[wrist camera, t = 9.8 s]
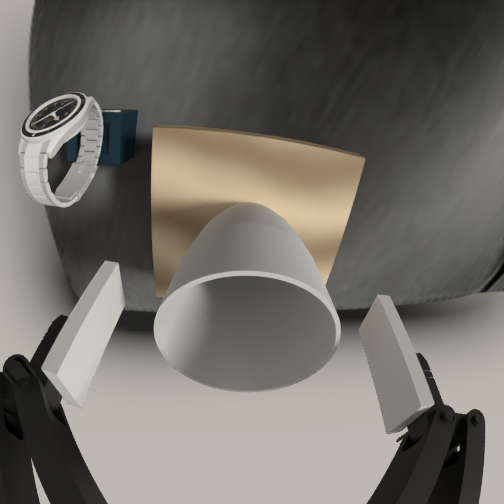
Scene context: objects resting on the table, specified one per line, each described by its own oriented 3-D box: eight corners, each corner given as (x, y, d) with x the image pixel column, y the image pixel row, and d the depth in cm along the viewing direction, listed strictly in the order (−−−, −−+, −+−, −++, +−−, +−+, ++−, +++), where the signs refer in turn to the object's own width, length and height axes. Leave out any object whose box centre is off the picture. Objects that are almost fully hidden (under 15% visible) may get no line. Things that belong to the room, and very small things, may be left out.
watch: (140, 88, 19) (66, 94, 10) (132, 174, 24) (68, 230, 14) (87, 89, 19) (3, 103, 10) (83, 169, 23) (11, 219, 14)
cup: (178, 194, 18) (121, 288, 10) (297, 170, 18) (340, 252, 9) (210, 287, 23) (192, 396, 14) (311, 270, 22) (338, 379, 13)
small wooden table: (176, 118, 21) (153, 127, 16) (340, 142, 22) (365, 158, 17) (171, 257, 28) (155, 295, 23) (304, 274, 29) (314, 314, 24)
